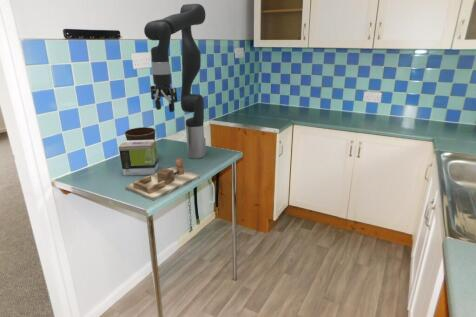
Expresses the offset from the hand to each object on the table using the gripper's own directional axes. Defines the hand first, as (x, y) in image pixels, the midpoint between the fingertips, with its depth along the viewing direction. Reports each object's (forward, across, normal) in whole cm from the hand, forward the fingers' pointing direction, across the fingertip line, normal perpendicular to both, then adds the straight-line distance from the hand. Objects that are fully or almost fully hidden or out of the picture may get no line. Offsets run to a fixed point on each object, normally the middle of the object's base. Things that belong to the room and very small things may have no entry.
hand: (165, 110), depth 141 cm
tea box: (+30, +13, +7) cm, 34 cm away
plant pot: (+30, +24, -3) cm, 39 cm away
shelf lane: (+30, -6, +10) cm, 32 cm away
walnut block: (+29, -7, +5) cm, 30 cm away
